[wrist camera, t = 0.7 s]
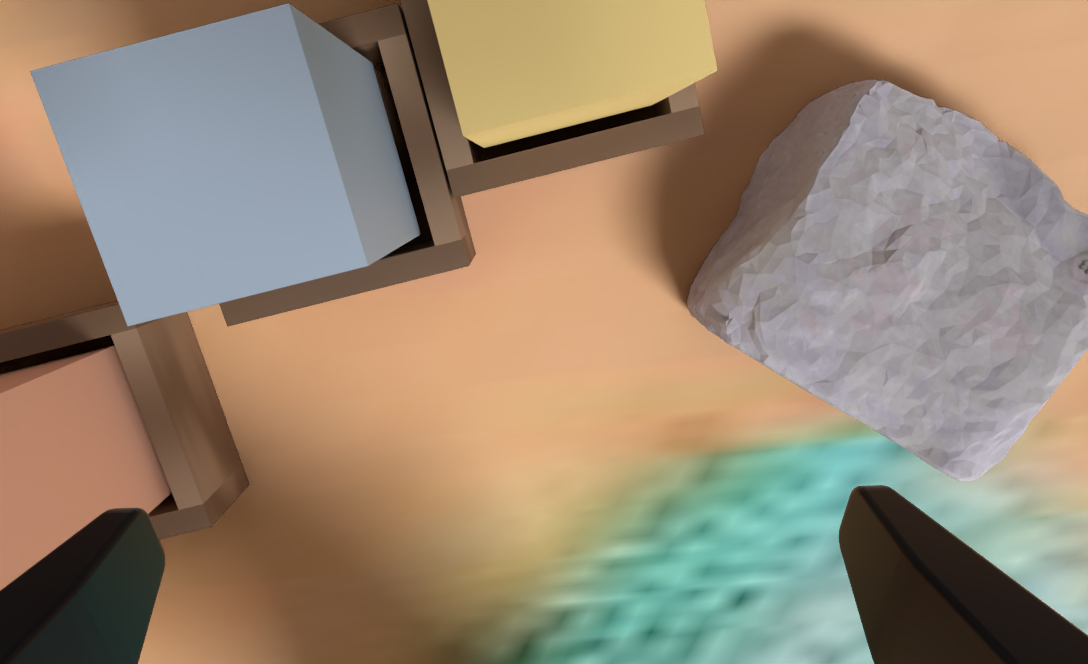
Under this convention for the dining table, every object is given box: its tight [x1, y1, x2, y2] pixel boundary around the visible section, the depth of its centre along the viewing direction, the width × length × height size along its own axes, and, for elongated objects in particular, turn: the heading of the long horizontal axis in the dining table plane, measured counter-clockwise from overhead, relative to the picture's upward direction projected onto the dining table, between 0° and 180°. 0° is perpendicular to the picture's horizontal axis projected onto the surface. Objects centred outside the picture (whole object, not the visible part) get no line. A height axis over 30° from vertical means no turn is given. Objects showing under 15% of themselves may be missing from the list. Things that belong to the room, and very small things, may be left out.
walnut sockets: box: [0, 0, 704, 539], centre depth 23 cm, size 15×25×3 cm, turn 104°
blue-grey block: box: [30, 3, 421, 326], centre depth 18 cm, size 5×5×8 cm
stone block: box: [687, 79, 1088, 481], centre depth 24 cm, size 12×5×10 cm
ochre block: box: [427, 0, 718, 148], centre depth 17 cm, size 5×5×8 cm
